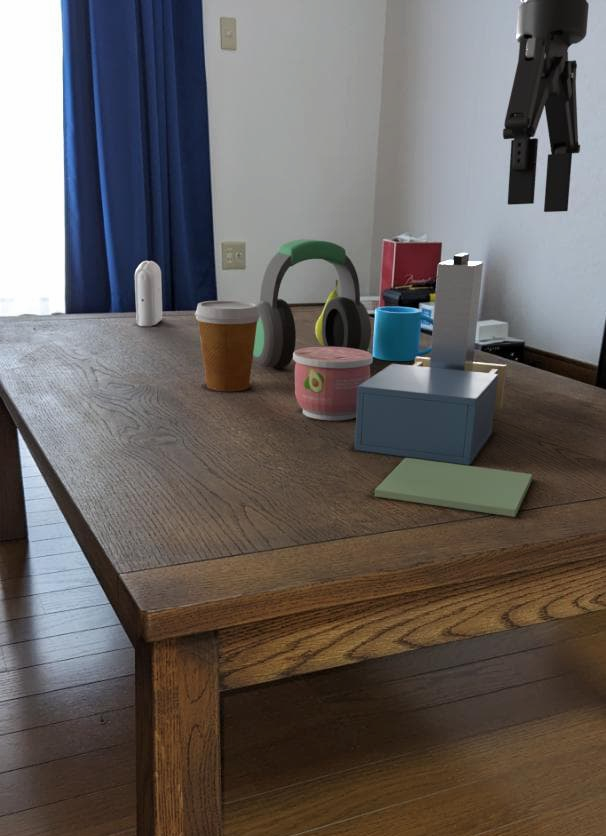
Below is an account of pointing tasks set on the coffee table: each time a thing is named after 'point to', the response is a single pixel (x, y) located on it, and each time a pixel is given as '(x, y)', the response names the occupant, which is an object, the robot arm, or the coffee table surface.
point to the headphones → (341, 315)
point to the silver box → (456, 313)
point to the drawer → (481, 368)
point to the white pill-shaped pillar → (148, 294)
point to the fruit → (319, 323)
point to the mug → (398, 333)
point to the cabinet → (426, 413)
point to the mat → (456, 486)
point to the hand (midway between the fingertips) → (539, 208)
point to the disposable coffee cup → (227, 342)
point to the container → (330, 380)
